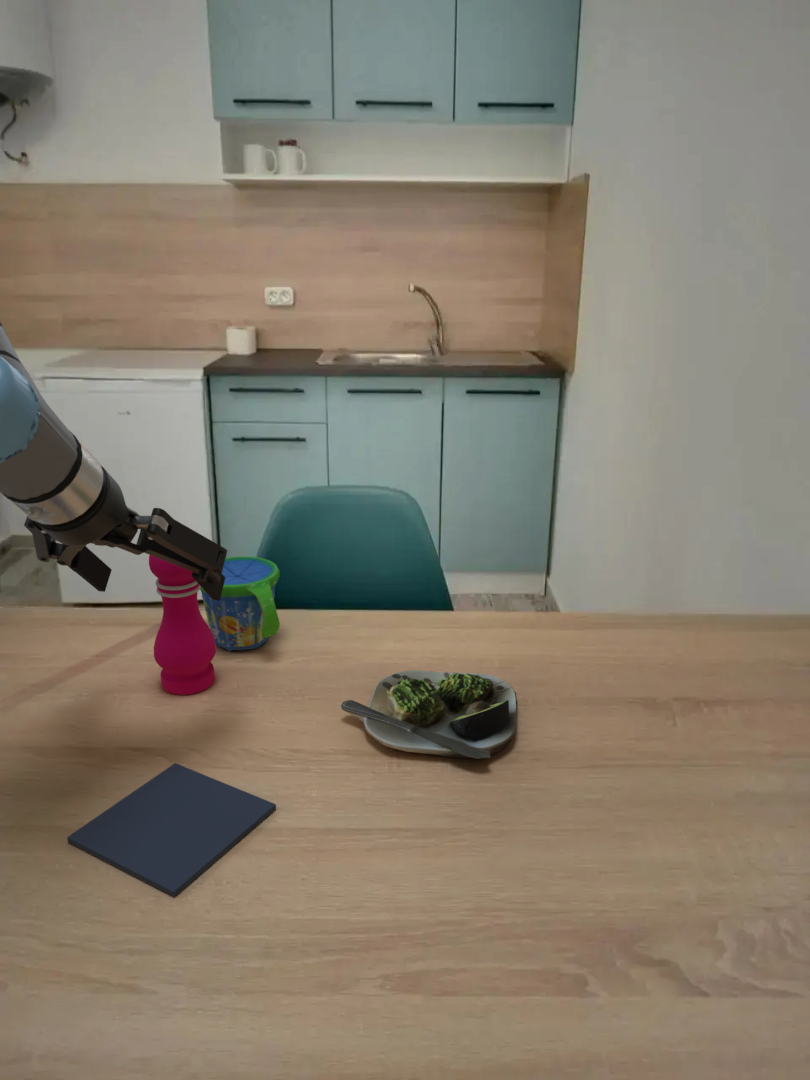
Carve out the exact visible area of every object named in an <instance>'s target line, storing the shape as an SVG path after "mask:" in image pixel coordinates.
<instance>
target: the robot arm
mask: <svg viewBox="0 0 810 1080" xmlns="http://www.w3.org/2000/svg"><path fill="white" fill-rule="evenodd" d="M0 494H2V495H3V497H5V498H6V499H7V500H9V501H10V502H12V503H13V504H14V505H15V506H16V507H17V508H19V509H20V511H22V512H23V513H24V514H25V515H26V518H25V521H24V523H23V526H24V528H26V529H27V530H28V531H29V532H30V533H31V534H32V541H33V544H34V548H35V555H36V559H37V560H38V561H40V562H41V563H49V562H50V561H51V560H56V561H55V563H57V564H58V565H59V566H64V567H65V566H67V567H68V568H69V569H70V570H71V571H73V572H75V574H77V575H78V576H79V577H81V578H82V579H83V580H85V581H86V582H87V583H88V584H89V585H90V586H92V587H93V588H94V589H96V591H98V592H102V593H105V592H106V590H107V586H108V584H109V580H110V577H111V574H112V571H113V569H112V568H111V567H110V566H108V565H107V563H105V562H104V561H103V560H102V559H101V558H100V557H98V556H97V554H95V553H94V552H93V551H92V550H91V549H90V548H89V547H88V545H89V544H93V545H95V546H100V547H101V546H102V547H105V546H106V547H109V548H118V549H121V550H123V551H126V552H128V553H131V554H134V555H136V556H140V555H143V554H146V555H151V556H154V557H157V558H159V559H162V560H164V561H167V562H169V563H172V564H174V565H177V566H179V567H182V568H184V569H187V570H189V571H192V577H193V578H194V579H195V581H196V582H197V583H198V584H199V585H200V586H201V587H202V588H203V589H204V590H205V591H206V593H207V594H208V595H209V596H210V597H211V598H212V599H213V600H220V598H221V594H222V590H223V586H224V581H225V577H224V575H223V574H222V571H223V567H224V563H225V559H226V558H227V554H228V549H226V548H225V547H224V546H222V545H220V544H219V543H216V542H214V541H212V540H211V539H209V538H208V537H206V536H204V535H202V534H200V533H199V532H197V531H196V530H194V529H192V528H190V527H189V526H187V525H185V524H183V523H181V522H180V521H178V520H176V519H174V518H173V517H172V516H171V515H170V513H168V512H167V511H166V510H165V509H162V508H160V507H154V508H152V510H151V514H150V515H140V514H139V513H138V512H137V511H136V510H134V509H132V508H129V506H127V503H126V500H125V496H124V494H123V490H122V488H121V486H120V484H119V483H118V482H117V481H116V480H115V479H114V478H113V476H112V475H111V474H110V473H109V472H108V470H106V468H105V467H103V466H102V464H101V463H100V462H99V460H98V458H97V457H96V456H95V455H94V454H93V453H92V452H91V451H90V450H89V449H88V448H87V447H86V446H85V445H84V444H83V443H82V441H81V440H80V439H79V438H78V437H77V436H76V435H75V434H74V433H73V432H72V431H71V430H69V428H68V427H67V426H66V425H65V424H64V422H62V420H61V419H60V418H59V417H58V414H56V413H55V412H54V410H53V409H52V408H51V407H50V405H49V404H48V403H47V401H46V400H45V398H44V397H43V395H42V394H41V392H40V391H39V389H38V387H37V385H36V383H35V382H34V380H33V378H32V377H31V375H30V373H29V372H28V370H27V368H26V367H25V366H24V364H23V362H21V360H20V358H19V356H18V354H17V352H16V350H15V349H14V346H13V344H12V343H11V341H10V338H9V337H8V334H7V333H6V329H5V328H4V326H3V324H2V322H1V321H0ZM139 530H140V531H139ZM138 531H139V534H138ZM136 534H138V537H137V541H136V543H134V542H132V541H133V540H134V538H135V537H136Z"/></svg>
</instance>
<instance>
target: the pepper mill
mask: <svg viewBox="0 0 810 1080" xmlns="http://www.w3.org/2000/svg"><path fill="white" fill-rule="evenodd" d="M148 555H149V554H148ZM148 566H149V570H150V572H151V573H152V574H153V576H154V577H156V578H157V579H156V580H155V586H156V593H157V594H158V595H159V596H160V597H161V601H162V610H163V612H162V618H161V622H160V625H159V628H158V631H157V633H156V636H155V640H154V645H153V658H154V661H155V663H156V664H157V665H158V666H159V667H160V668H161V671H160V674H159V675H160V682H161V683H160V684H161V687H162V689H163V690H164V691H165V692H167V693H168V694H172V695H178V696H183V695H184V696H186V695H194V694H197V693H202V692H203V691H205V690H207V689H208V688H210V687H211V686H212V685H213V684H214V682H215V680H216V676H215V666H214V664H213V663H212V661H213V660H214V658H215V656H216V653H217V645H216V644H215V639H214V636H213V634H212V632H211V630H210V626H209V624H207V622H206V620H205V619H204V618H203V616H202V615H203V614H201V610H200V608H199V602H198V601H199V599H198V592H199V591H201V590H200V588H201V586H200V585H199V584H198V583H197V582H196V581H195V579H194V578H193V577H192V571H189V570H187V569H184V568H182V567H179V566H177V565H174V564H172V563H169V562H167V561H164V560H162V559H159V558H157V557H154V556H151V555H149V556H148Z"/></svg>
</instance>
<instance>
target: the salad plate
mask: <svg viewBox="0 0 810 1080" xmlns="http://www.w3.org/2000/svg"><path fill="white" fill-rule="evenodd" d="M518 704H519V703H518V699H517V692H516V691H515V689H514V687H513V686H512V685H511V684H509V682H507V681H505V680H503V679H502V678H499V677H496V676H494V675H491V674H488V673H487V674H486V673H480V672H479V673H478V672H449V671H433V670H416V669H414V670H413V669H412V670H411V669H409V670H402V671H397V672H395V673H392V674H389V675H386V676H385V677H383V678H381V679H380V680H379V681H378V682H377V684H376V685H375V686H374V689H373V692H372V694H371V697H370V700H369V703H368V704H367V705H365V704H362V703H360V702H358V701H355V700H353V699H348V700H343V701H342V702H341V704H340V709H341V710H342V711H344V712H345V713H347V714H350V715H351V716H354V717H356V718H357V719H359V720H360V721H361V722H362V723H363V726H364V728H365V731H366V733H368V735H370V736H371V737H372V738H373V739H375V740H376V741H378V742H379V743H380V744H381V745H383V746H384V747H387V748H391V749H395V750H398V751H402V752H407V753H417V754H426V755H432V756H433V755H435V756H440V757H446V758H451V759H467V760H468V759H469V760H470V759H471V760H474V759H475V760H477V759H479V760H481V759H491V756H494V755H496V754H498V753H500V752H501V751H503V750H504V749H505V748H506V747H507V746H508V745H509V744H510V742H511V741H512V740H513V739H514V736H515V734H516V731H517V710H518Z"/></svg>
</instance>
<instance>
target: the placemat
mask: <svg viewBox="0 0 810 1080" xmlns="http://www.w3.org/2000/svg"><path fill="white" fill-rule="evenodd" d="M276 810H277V804H276V803H274V802H271V801H269V800H267V799H264V798H262V797H259V796H256V795H254V794H252V793H250V792H247V791H246V790H245V791H244V790H242V789H239V788H237V787H234V786H232V785H230V784H228V783H225V782H222V781H220V780H218V779H215V778H213V777H210V776H208V775H205V774H203V773H200V772H198V771H195V770H194V769H191V768H188V767H186V766H183V765H181V764H179V763H176V762H174V763H173V764H171V765H169V766H168V767H167V768H166V769H164V770H162V771H161V772H159V774H157V775H156V776H154V777H152V778H151V779H150V780H148V781H146V783H144V784H143V785H141V786H139V787H137V788H136V789H135V790H134V791H132V792H130V793H129V794H128V795H126V796H124V797H123V798H122V799H121V800H119V801H118V802H116V803H115V804H113V805H112V806H111V807H109V808H107V809H106V810H104V811H103V812H101V813H100V814H99V815H97V816H96V817H94V818H93V819H92V820H89V822H87V823H86V824H84V825H83V826H81V827H79V829H77V830H75V831H74V832H73V833H71V834H69V835H68V836H67V838H66V839H67V843H68V844H70V845H72V846H74V847H76V848H78V849H80V850H82V851H84V852H86V853H87V854H90V855H92V856H93V857H95V858H97V859H99V860H101V861H103V862H105V863H107V864H109V865H111V866H113V867H115V868H117V869H119V870H120V871H122V872H124V873H126V874H129V875H130V876H132V877H134V878H136V879H138V880H140V881H141V882H144V883H146V884H148V885H150V886H151V887H154V888H155V889H157V890H159V891H161V892H163V893H165V894H167V895H169V896H170V897H173V898H175V897H177V896H178V895H179V894H180V893H181V892H182V891H183V890H185V889H186V888H187V887H188V886H189V885H190V884H192V883H193V882H194V881H195V880H196V879H197V878H198V877H200V876H201V875H202V874H203V873H205V871H207V870H208V869H209V868H211V866H212V865H214V864H215V863H216V862H217V861H218V860H220V858H221V857H223V856H224V855H225V854H227V853H228V852H229V851H230V850H231V849H232V848H234V847H235V846H236V845H237V844H238V843H239V842H240V841H241V840H243V839H244V838H245V837H246V836H247V835H249V834H250V832H252V831H253V830H254V829H256V828H257V827H258V826H259V825H260V824H261V823H262V822H263V821H264V820H265V819H266V818H268V817H269V816H270V815H272V814H273V813H274V812H275V811H276Z"/></svg>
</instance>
